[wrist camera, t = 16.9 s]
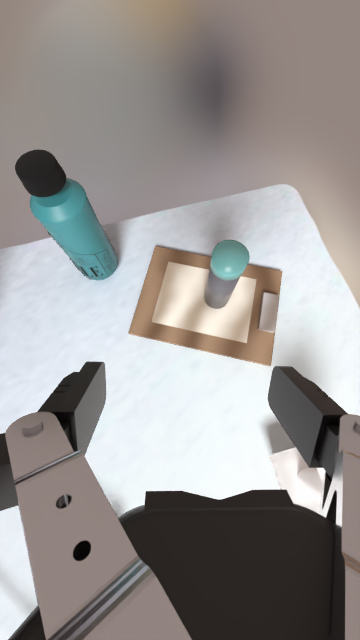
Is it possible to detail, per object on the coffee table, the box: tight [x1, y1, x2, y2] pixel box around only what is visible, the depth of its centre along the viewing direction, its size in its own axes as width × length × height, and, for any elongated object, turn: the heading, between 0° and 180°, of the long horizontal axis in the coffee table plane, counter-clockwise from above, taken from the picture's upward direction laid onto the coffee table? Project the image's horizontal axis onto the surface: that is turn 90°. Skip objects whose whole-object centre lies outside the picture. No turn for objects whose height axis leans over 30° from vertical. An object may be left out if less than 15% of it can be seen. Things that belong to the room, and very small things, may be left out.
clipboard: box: [129, 246, 282, 366], centre depth 38 cm, size 22×16×2 cm
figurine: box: [269, 447, 325, 514], centre depth 25 cm, size 7×9×15 cm
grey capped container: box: [204, 240, 249, 309], centre depth 33 cm, size 4×4×12 cm
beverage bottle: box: [15, 150, 117, 280], centre depth 32 cm, size 6×7×20 cm
